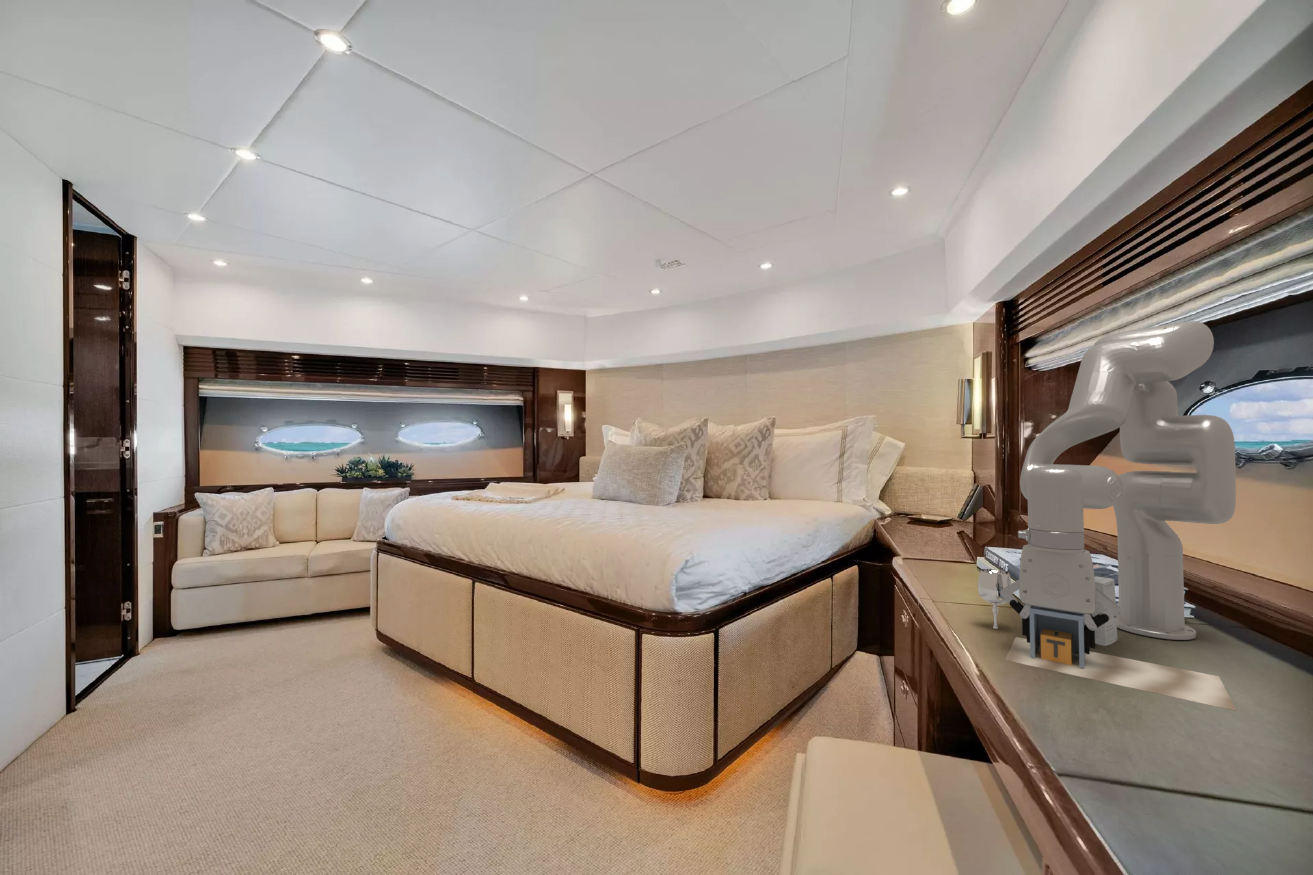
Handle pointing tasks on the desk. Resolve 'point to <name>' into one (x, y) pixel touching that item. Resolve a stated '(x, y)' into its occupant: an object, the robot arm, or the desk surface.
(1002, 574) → the wineglass
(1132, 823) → the desk surface
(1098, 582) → the skincare box
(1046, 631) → the letter cube
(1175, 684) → the board
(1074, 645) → the grey open-front cubby
